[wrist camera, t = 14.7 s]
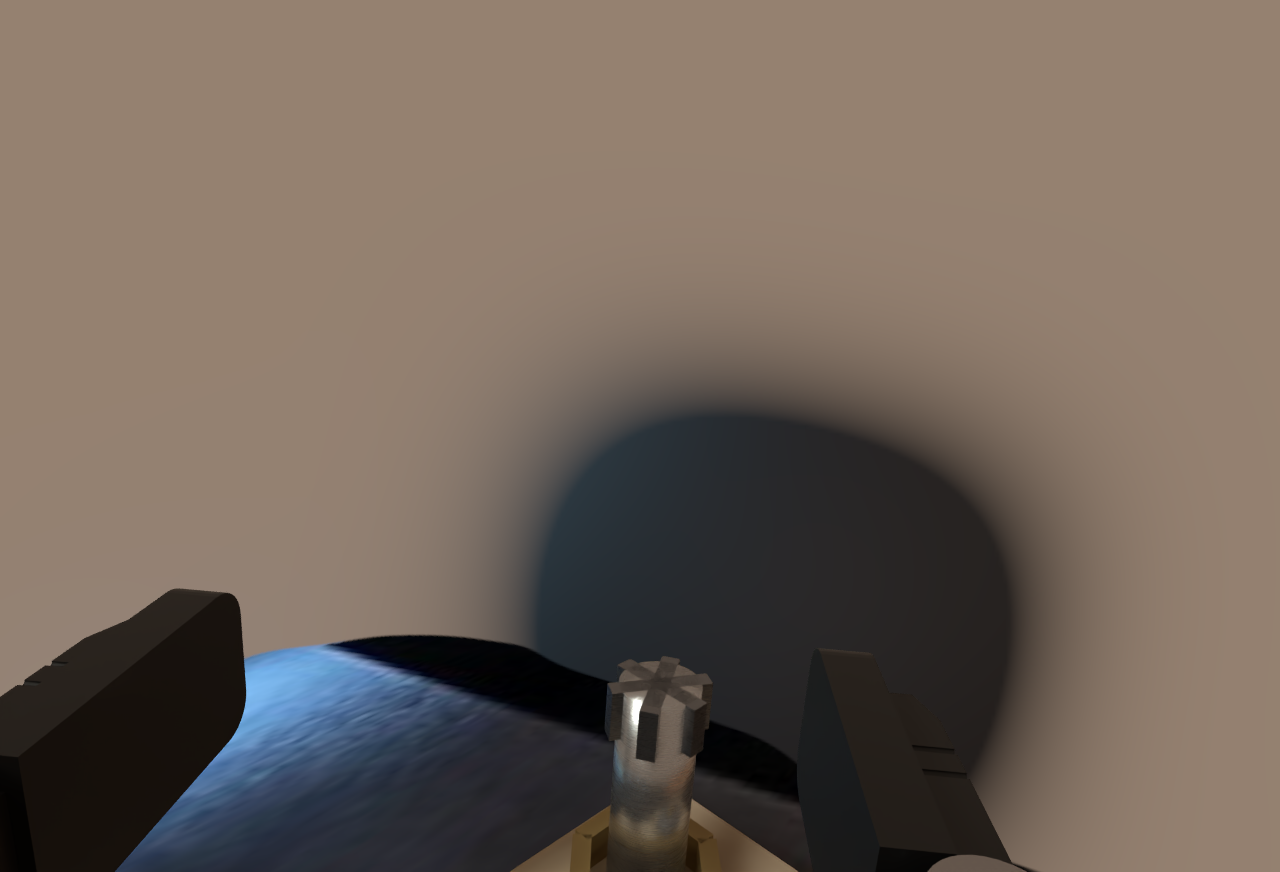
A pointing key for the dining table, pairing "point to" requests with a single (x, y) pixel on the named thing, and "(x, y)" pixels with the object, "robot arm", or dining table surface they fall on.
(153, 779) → the robot arm
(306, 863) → the dining table surface
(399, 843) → the dining table surface
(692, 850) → the gear board
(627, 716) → the pinion shaft
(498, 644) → the dining table surface
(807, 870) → the dining table surface
